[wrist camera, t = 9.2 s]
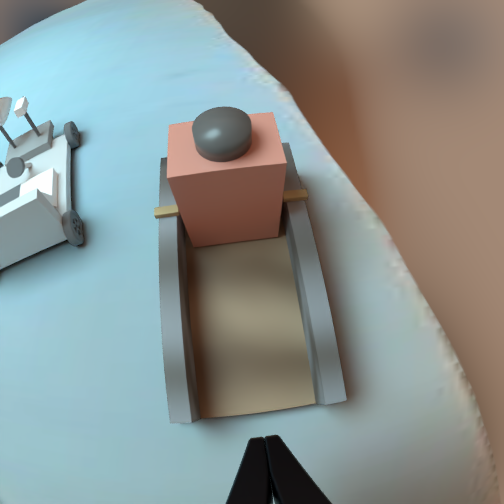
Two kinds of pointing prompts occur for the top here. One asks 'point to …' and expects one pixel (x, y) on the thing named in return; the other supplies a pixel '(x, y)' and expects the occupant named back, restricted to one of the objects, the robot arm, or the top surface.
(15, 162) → the toy car
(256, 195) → the slider
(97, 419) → the top surface
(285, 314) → the track
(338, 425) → the top surface
